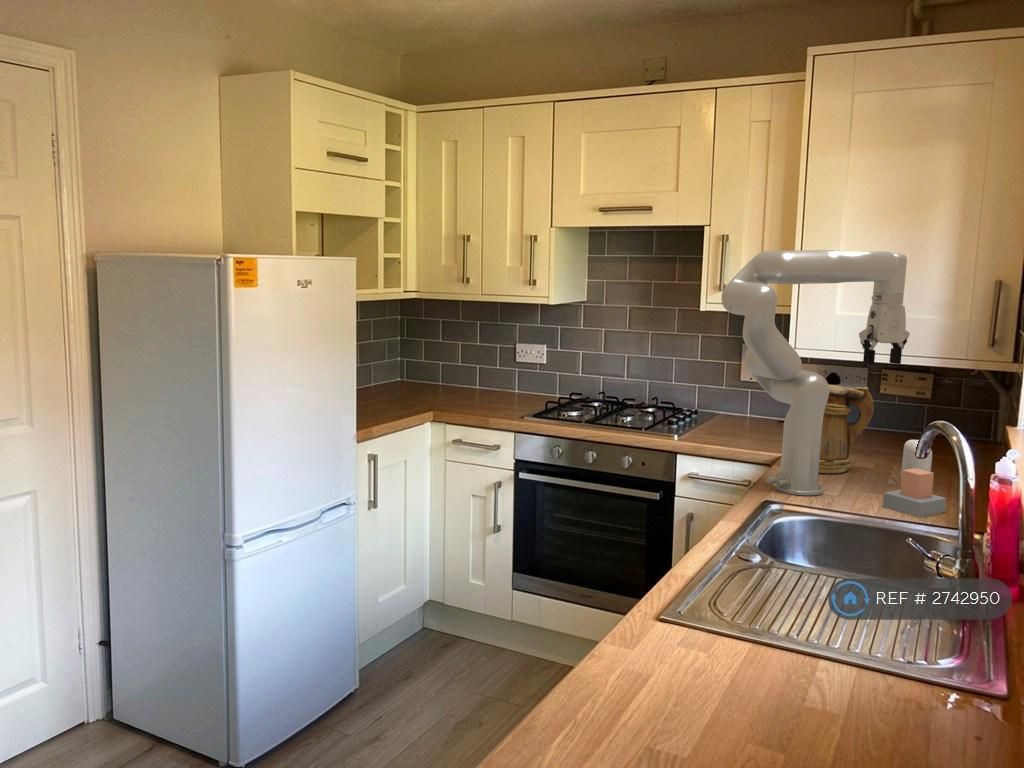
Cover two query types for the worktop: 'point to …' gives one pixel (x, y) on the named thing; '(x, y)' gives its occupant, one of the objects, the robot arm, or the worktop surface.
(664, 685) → the worktop surface
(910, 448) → the photo printer
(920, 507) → the slate block
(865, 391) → the tankard
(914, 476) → the terracotta block
